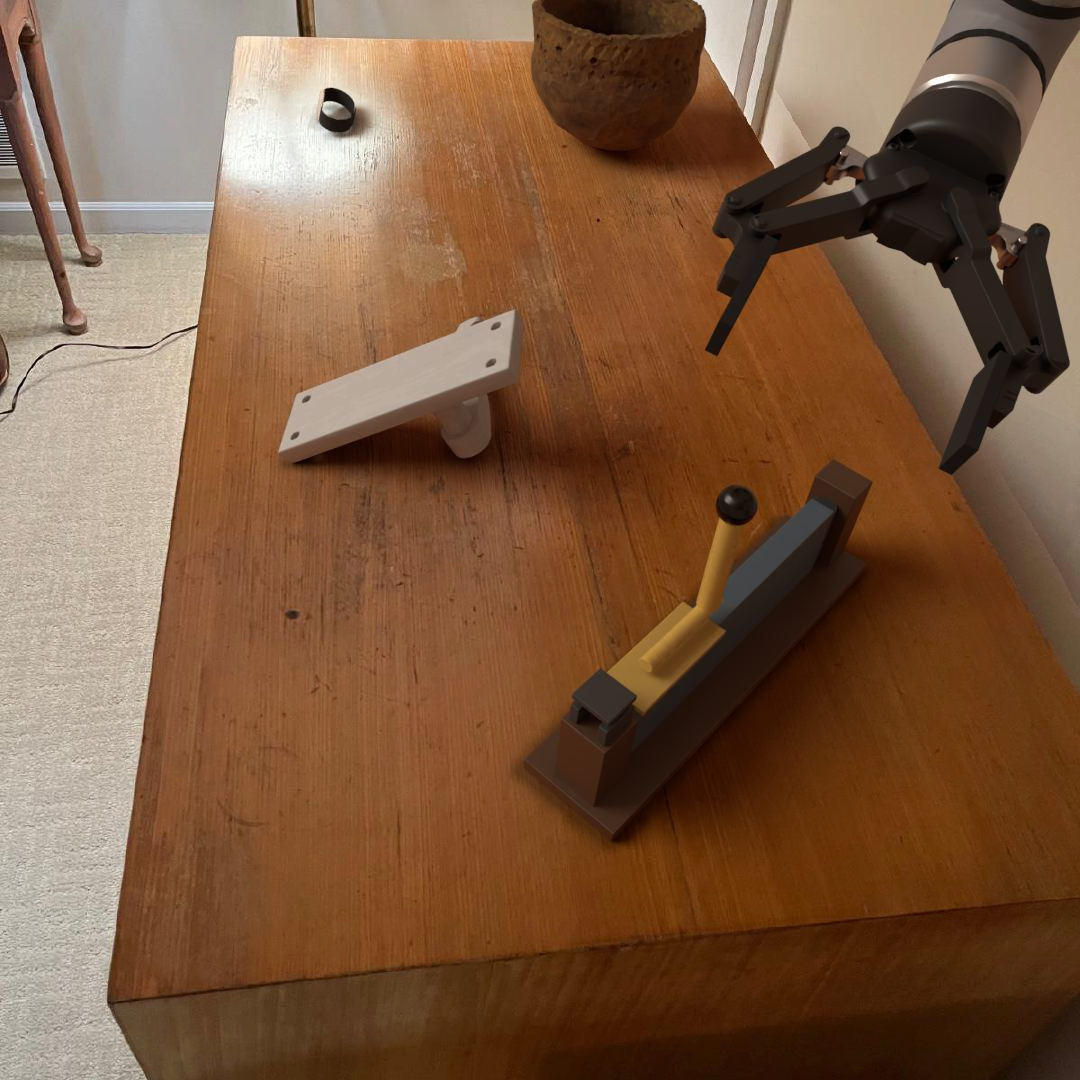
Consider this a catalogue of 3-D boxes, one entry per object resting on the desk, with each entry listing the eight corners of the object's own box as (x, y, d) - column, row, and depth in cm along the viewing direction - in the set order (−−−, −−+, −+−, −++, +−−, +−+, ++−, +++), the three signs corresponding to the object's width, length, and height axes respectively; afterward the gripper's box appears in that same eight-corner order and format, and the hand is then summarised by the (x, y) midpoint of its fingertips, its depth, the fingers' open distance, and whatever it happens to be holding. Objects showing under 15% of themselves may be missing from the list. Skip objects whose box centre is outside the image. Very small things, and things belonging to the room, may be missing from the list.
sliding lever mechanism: (782, 523, 78) (815, 429, 71) (863, 572, 75) (905, 480, 68) (522, 767, 62) (531, 678, 55) (611, 842, 59) (632, 758, 52)
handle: (337, 518, 83) (559, 446, 75) (276, 452, 77) (508, 367, 70) (372, 379, 94) (568, 304, 87) (321, 313, 89) (524, 227, 82)
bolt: (701, 592, 62) (735, 470, 55) (730, 612, 61) (769, 491, 54) (628, 659, 58) (654, 538, 51) (659, 682, 57) (690, 562, 50)
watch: (317, 106, 119) (313, 75, 117) (357, 106, 120) (355, 75, 117) (314, 137, 114) (310, 105, 112) (356, 137, 115) (354, 106, 112)
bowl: (528, 97, 124) (535, -36, 113) (681, 110, 125) (703, -22, 114) (520, 172, 112) (528, 30, 101) (690, 186, 112) (716, 46, 101)
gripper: (1109, 271, 63) (1019, 541, 55) (749, 97, 65) (607, 331, 57) (1195, 185, 57) (1108, 478, 48) (790, -6, 58) (636, 242, 50)
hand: (836, 399), depth 52 cm, fingers open, 13 cm apart
